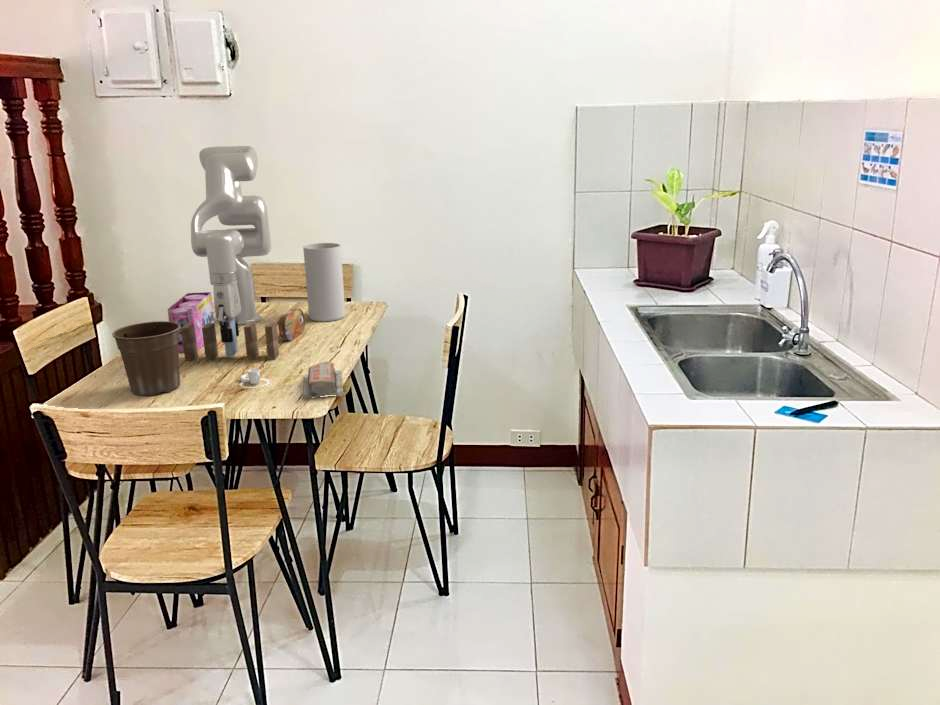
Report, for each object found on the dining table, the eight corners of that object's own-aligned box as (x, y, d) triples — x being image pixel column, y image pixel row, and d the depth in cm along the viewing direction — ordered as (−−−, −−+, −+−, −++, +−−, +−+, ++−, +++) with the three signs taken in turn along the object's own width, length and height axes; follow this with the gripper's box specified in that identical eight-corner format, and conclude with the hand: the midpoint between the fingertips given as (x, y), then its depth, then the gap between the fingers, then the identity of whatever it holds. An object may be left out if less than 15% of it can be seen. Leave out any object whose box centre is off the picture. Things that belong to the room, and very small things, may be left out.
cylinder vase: (304, 321, 270) (298, 249, 263) (315, 312, 282) (309, 243, 275) (340, 322, 269) (334, 249, 261) (349, 313, 281) (344, 242, 273)
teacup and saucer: (237, 381, 213) (235, 367, 211) (267, 377, 215) (266, 363, 214) (241, 391, 205) (239, 376, 204) (272, 387, 207) (270, 372, 206)
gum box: (197, 353, 237) (191, 309, 233) (170, 354, 237) (164, 310, 233) (216, 332, 260) (211, 291, 256) (191, 333, 260) (186, 292, 256)
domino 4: (247, 360, 229) (243, 327, 226) (252, 354, 234) (248, 322, 232) (254, 360, 229) (250, 326, 226) (258, 354, 234) (255, 321, 232)
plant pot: (111, 400, 199) (101, 338, 194) (134, 379, 214) (125, 322, 210) (177, 398, 200) (168, 336, 195) (195, 377, 215) (187, 320, 210)
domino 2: (205, 361, 229) (201, 327, 226) (211, 355, 234) (207, 323, 232) (212, 361, 229) (208, 327, 226) (218, 355, 234) (214, 322, 232)
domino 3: (226, 356, 229) (222, 322, 226) (231, 350, 234) (227, 318, 231) (233, 356, 229) (229, 322, 226) (238, 350, 234) (234, 317, 231)
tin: (287, 343, 245) (285, 317, 243) (278, 343, 246) (275, 317, 243) (306, 330, 259) (304, 305, 257) (297, 330, 260) (295, 305, 257)
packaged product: (342, 379, 197) (301, 382, 196) (343, 398, 199) (303, 401, 197) (341, 358, 214) (303, 361, 213) (342, 375, 216) (305, 378, 214)
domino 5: (268, 359, 229) (264, 326, 226) (272, 354, 234) (269, 321, 232) (275, 359, 229) (271, 326, 226) (279, 354, 234) (276, 321, 232)
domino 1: (185, 361, 229) (180, 328, 226) (191, 356, 234) (187, 323, 232) (192, 361, 229) (187, 328, 226) (198, 355, 234) (194, 323, 232)
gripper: (228, 283, 217) (235, 347, 222) (244, 271, 233) (251, 331, 238) (200, 284, 217) (208, 347, 222) (219, 272, 233) (226, 331, 238)
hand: (230, 338), depth 230 cm, fingers closed on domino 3, 5 cm apart
